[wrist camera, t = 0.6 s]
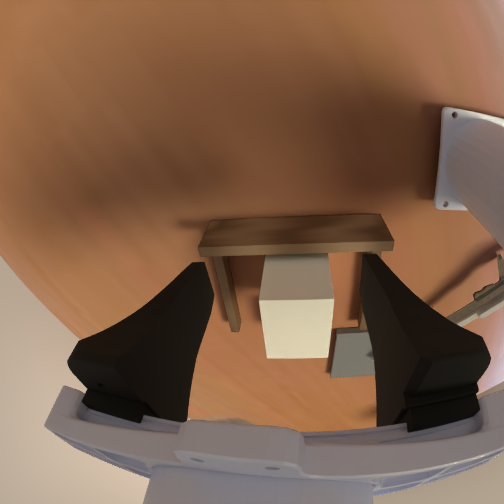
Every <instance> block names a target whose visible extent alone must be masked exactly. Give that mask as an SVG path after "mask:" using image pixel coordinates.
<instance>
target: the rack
mask: <svg viewBox="0 0 504 504" xmlns="http://www.w3.org/2000/svg"><path fill="white" fill-rule="evenodd" d="M393 246H394V239H393V237H392V235H391V233H390V231H389V230H388V228H387V226H386V224H385V222H384V220H383V218H382V216H381V214H369V215H325V216H295V217H271V218H251V219H232V220H215V221H211V222H210V224H209V226H208V228H207V230H206V232H205V234H204V236H203V238H202V240H201V242H200V244H199V246H198V251H199V254H200V257H207V256H213V260H214V264H215V269H216V273H217V277H218V281H219V285H220V289H221V293H222V297H223V301H224V305H225V309H226V313H227V317H228V320H229V324H230V328H231V332H239V330H240V325H241V318H240V313H239V309H238V304H237V299H236V295H235V290H234V285H233V280H232V275H231V271H230V266H229V261H228V256H241V255H275V254H307V253H338V252H367V254H375V253H376V254H377V255H378V256H379V257H380V258H381V252H382V251H393ZM357 320H358V326H359V330H367V325H366V321H365V317H364V313H363V309H362V303H361V301H360V307H359V313H358V319H357Z"/></svg>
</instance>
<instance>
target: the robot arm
mask: <svg viewBox="0 0 504 504" xmlns="http://www.w3.org/2000/svg"><path fill="white" fill-rule="evenodd" d="M453 112H455V117H454V118H453V117H452V113H453ZM445 201H446V204H445V205H443V203H444V202H445ZM434 206H435V207H436V208H437V209H438V210H469V211H470V212H471V213H472V215H473V216H474V217H475V218H476V219H477V220H478V221H479V222H480V223H481V224H482V225H483V226H484V227H485V229H486V230H487V231H488V232H489V233H490V234H491V235H492V236H493V238H494V239H495V240H496V241H497V242H498V243H499V245H500V246H501V247H502V248H503V249H504V119H503V118H499V117H495V116H491V115H487V114H482V113H478V112H473V111H468V110H463V109H457V108H452V107H444V108H443V109H442V112H441V138H440V152H439V164H438V173H437V182H436V189H435V196H434ZM360 295H361V303H362V309H363V313H364V317H365V321H366V325H367V329H368V334H369V338H370V342H371V346H372V351H373V357H374V367H375V380H376V401H377V426H376V427H373V428H364V429H354V430H341V431H323V432H298V431H296V430H293V429H290V428H287V427H278V426H267V425H248V424H235V423H224V422H215V421H206V420H188V421H187V416H188V406H189V398H190V390H191V384H192V378H193V373H194V368H195V363H196V358H197V354H198V351H199V348H200V345H201V342H202V339H203V336H204V333H205V330H206V327H207V324H208V321H209V318H210V315H211V311H212V306H213V300H214V292H213V289H212V285H211V282H210V279H209V275H208V272H207V269H206V265H205V262H192V263H191V264H190V265H189V266H188V267H187V268H186V269H184V270H183V271H182V272H181V273H180V274H179V275H178V276H177V277H176V278H175V279H174V280H173V281H172V282H171V283H170V284H169V285H168V286H167V287H165V288H164V289H163V290H162V291H161V292H160V293H159V294H157V295H156V296H155V297H154V298H153V299H152V300H150V301H149V302H148V303H147V304H145V305H144V306H143V307H141V308H140V309H139V310H137V311H136V312H134V313H133V314H131V315H130V316H128V317H127V318H125V319H123V320H122V321H120V322H119V323H117V324H115V325H113V326H111V327H109V328H107V329H105V330H103V331H101V332H99V333H97V334H95V335H92V336H90V337H87V338H85V339H82V340H79V341H78V343H77V345H76V346H75V348H74V350H73V352H72V353H71V355H70V357H69V359H68V361H67V362H68V366H69V368H70V370H71V371H72V373H73V374H74V375H75V376H76V377H77V378H78V379H79V380H80V381H81V382H82V383H83V385H84V386H85V387H86V388H87V391H86V393H85V394H84V393H83V392H81V391H79V390H77V389H73V388H71V387H68V386H63V388H62V390H61V392H60V394H59V396H58V397H57V399H56V402H55V404H54V406H53V408H52V410H51V412H50V414H49V416H48V418H47V420H46V422H45V427H46V428H47V429H49V430H50V431H51V432H53V433H54V434H55V435H57V436H58V437H60V438H61V439H63V440H64V441H65V442H67V443H68V444H70V445H71V446H73V447H74V448H76V449H78V450H80V451H82V452H85V453H87V454H89V455H91V456H93V457H96V458H98V459H100V460H103V461H105V462H107V463H110V464H112V465H114V466H117V467H119V468H122V469H125V470H127V471H130V472H133V473H135V474H138V475H141V476H144V477H147V478H150V481H149V485H148V488H147V491H146V495H145V498H144V502H143V504H373V496H378V495H383V494H388V493H393V492H398V491H402V490H406V489H410V488H414V487H418V486H421V485H425V484H428V483H432V482H435V481H438V480H441V479H444V478H447V477H450V476H453V475H456V474H459V473H461V472H464V471H467V470H469V469H472V468H475V467H478V466H480V465H483V464H485V463H487V462H489V461H490V460H492V459H494V458H495V457H497V456H498V455H500V454H501V453H503V452H504V390H501V391H498V392H495V393H492V394H489V395H486V396H484V397H482V398H480V399H479V400H478V399H477V396H476V393H477V392H478V391H479V389H478V385H477V382H478V380H479V379H480V378H481V376H482V375H483V374H484V372H485V371H486V369H487V368H488V366H489V364H490V360H491V357H490V354H489V351H488V348H487V346H486V344H485V342H484V340H483V338H482V337H481V336H479V335H477V334H475V333H473V332H471V331H469V330H466V329H464V328H462V327H461V326H459V325H457V324H455V323H453V322H452V321H450V320H449V319H447V318H445V317H444V316H442V315H441V314H439V313H438V312H437V311H435V310H434V309H432V308H431V307H430V306H428V305H427V304H426V303H425V302H423V301H422V300H421V299H420V298H419V297H417V296H416V295H415V294H414V293H413V292H412V291H411V290H410V289H409V288H408V287H407V286H406V285H405V284H404V283H403V282H402V281H401V280H400V279H399V278H398V277H397V276H396V275H395V274H394V273H393V272H392V271H391V269H390V268H389V267H388V266H387V265H386V264H385V263H384V262H383V260H382V259H381V258H380V257H379V256H378V255H377V254H376V253H375V254H363V261H362V272H361V282H360Z"/></svg>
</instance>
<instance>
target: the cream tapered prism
mask: <svg viewBox="0 0 504 504" xmlns="http://www.w3.org/2000/svg"><path fill="white" fill-rule="evenodd" d="M259 306H260V312H261V319H262V326H263V333H264V340H265V346H266V353H267V358H327V357H328V353H329V345H330V336H331V327H332V317H333V307H334V294H333V286H332V279H331V272H330V265H329V258H328V253H307V254H275V255H266V256H265V263H264V270H263V276H262V283H261V289H260V296H259Z"/></svg>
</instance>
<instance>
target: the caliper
mask: <svg viewBox="0 0 504 504" xmlns="http://www.w3.org/2000/svg"><path fill="white" fill-rule="evenodd" d="M497 260H498V269H499V281H498V282H497V283H495V284H490V285H487V286H485V287H483V289H482V290H480V291H477V292H475V293H474V294H473V297H474V301H473V302H471V303H470V304H468V305H466V306H465V307H463V308H461V309H460V310H458V311H456V312H455V313H453V314H451V315H449V316H448V317H446V318H447V319H449V320H450V321H452V322H453V323H455V324H457V325H459V326H461V327H462V326H464V325H466V324H468V323H469V322H471V321H473V320H474V319H476V318H478V317H481V318H482V319H483V318H485V317H486V316H488V315H490V314H491V313H493V312H495V311H496V310H498V309H500V308H501V307H503V306H504V260H503V259H502V257H501V255H500V254H499V255H498V258H497ZM371 360H373V361H374V357H373V358H371Z"/></svg>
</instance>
